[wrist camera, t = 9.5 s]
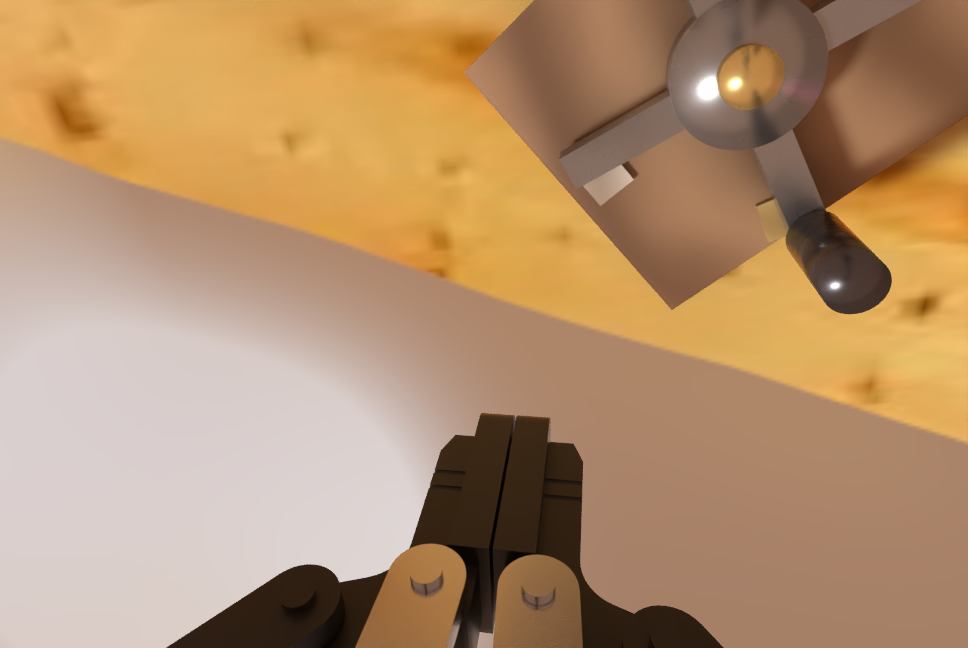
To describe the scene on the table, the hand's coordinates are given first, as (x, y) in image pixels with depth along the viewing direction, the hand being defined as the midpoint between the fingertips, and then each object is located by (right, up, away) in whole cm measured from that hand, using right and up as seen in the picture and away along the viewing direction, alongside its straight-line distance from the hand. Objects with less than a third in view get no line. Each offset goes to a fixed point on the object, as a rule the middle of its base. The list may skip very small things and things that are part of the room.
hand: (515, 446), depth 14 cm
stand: (+11, +15, +15) cm, 24 cm away
